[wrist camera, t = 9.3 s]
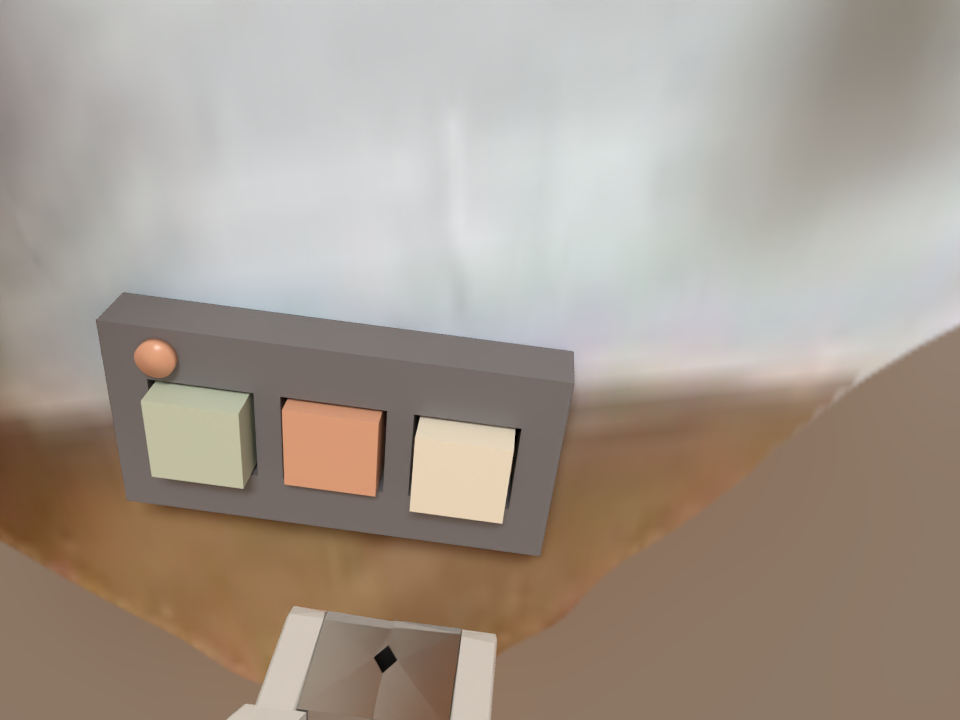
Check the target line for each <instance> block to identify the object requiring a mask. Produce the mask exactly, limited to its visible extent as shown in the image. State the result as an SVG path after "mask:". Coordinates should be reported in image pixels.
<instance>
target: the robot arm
mask: <svg viewBox="0 0 960 720" xmlns="http://www.w3.org/2000/svg"><path fill="white" fill-rule="evenodd" d="M460 636H461V637H460ZM496 648H497V638H496V634H491V633H484V632H476V631H469V630H462V632H461V629H460V628H452V627H443V626H435V625H427V624H419V623H411V622H402V621H395V622H392V621H386V620H380V619H374V618H368V617H361V616H355V615H349V614H343V613H337V612H331V611H324V610H317V609H310V608H303V607H297V606H294V607H293V608H292V610H291V611H290V613H289V614H288V616H287V618H286V621H285V624H284V627H283V629H282V632H281V635H280V638H279V641H278V643H277V646H276V649H275V652H274V654H273V657H272V660H271V663H270V665H269V668H268V671H267V674H266V677H265V679H264V682H263V685H262V688H261V691H260V693H259V696H258V699H257V702H256V704H255V705H254V704H244V705H243V706H242V707H241V708H240V709H238V710H237V711H236V712H234V713H233V714H232V715H231V716H230V717H228V718H227V719H226V720H491V709H492V697H493V685H494V673H495V672H494V671H495V660H496ZM457 660H458V661H457ZM456 668H457V669H456Z"/></svg>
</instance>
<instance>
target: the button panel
mask: <svg viewBox="0 0 960 720" xmlns="http://www.w3.org/2000/svg"><path fill="white" fill-rule="evenodd" d="M96 323H97V329H98V335H99V341H100V347H101V352H102V358H103V364H104V370H105V376H106V382H107V387H108V393H109V399H110V405H111V411H112V416H113V422H114V428H115V434H116V440H117V446H118V451H119V457H120V463H121V469H122V475H123V480H124V486H125V492H126V498H127V500H128V501H135V502H143V503H150V504H157V505H165V506H172V507H180V508H187V509H194V510H202V511H209V512H217V513H224V514H231V515H239V516H246V517H254V518H261V519H268V520H276V521H283V522H290V523H298V524H305V525H313V526H320V527H327V528H335V529H342V530H350V531H357V532H364V533H372V534H379V535H387V536H394V537H401V538H409V539H416V540H423V541H431V542H438V543H446V544H453V545H460V546H468V547H475V548H483V549H490V550H497V551H505V552H512V553H520V554H527V555H534V556H540V554H541V549H542V544H543V539H544V534H545V529H546V524H547V519H548V514H549V509H550V504H551V498H552V493H553V488H554V483H555V478H556V473H557V468H558V463H559V458H560V453H561V448H562V443H563V438H564V433H565V428H566V423H567V418H568V413H569V407H570V402H571V397H572V392H573V387H574V352H572V351H565V350H557V349H549V348H542V347H534V346H527V345H519V344H511V343H504V342H496V341H488V340H481V339H473V338H466V337H458V336H450V335H443V334H435V333H427V332H420V331H412V330H405V329H397V328H389V327H382V326H374V325H366V324H359V323H351V322H344V321H336V320H328V319H321V318H313V317H305V316H298V315H290V314H283V313H275V312H267V311H260V310H252V309H244V308H237V307H229V306H221V305H214V304H206V303H199V302H191V301H183V300H176V299H168V298H160V297H153V296H145V295H138V294H130V293H122V294H121V295H120V296H119V297H118V298H117V299H116V300H115V301H114V302H113V303H112V304H111V305H110V306H109V307H108V308H107V309H106V310H105V311H104V312H103V314H102V315H101V316H100V317H99V318H98V319H97V320H96ZM156 380H158V381H165V382H173V383H180V384H188V385H195V386H203V387H211V388H218V389H226V390H233V391H241V392H248V393H253V396H254V413H255V431H256V449H257V463H256V465H255V467H254V469H253V471H252V473H251V475H250V477H249V479H248V481H247V483H246V485H245V487H244V489H240V488H233V487H225V486H218V485H211V484H203V483H196V482H188V481H181V480H173V479H166V478H159V477H152V475H151V468H150V461H149V454H148V447H147V441H146V434H145V427H144V420H143V413H142V407H141V400H142V399H143V397H144V396H145V395H146V393H147V392H148V391H149V389H150V388H151V387H152V385H153V384H154V383H155V382H156ZM288 398H293V399H301V400H308V401H316V402H324V403H331V404H339V405H346V406H354V407H361V408H369V409H376V410H384V411H387V424H386V444H385V464H384V468H383V472H382V475H381V479H380V482H379V486H378V489H377V493H376V496H375V497H374V496H367V495H359V494H352V493H344V492H337V491H329V490H322V489H315V488H307V487H300V486H292V485H285V484H284V457H283V427H282V409H283V407H284V405H285V403H286V401H287V399H288ZM420 415H421V416H429V417H436V418H444V419H452V420H459V421H467V422H474V423H482V424H489V425H497V426H504V427H512V428H519V430H518V436H517V443H516V449H515V455H514V461H513V468H512V474H510V478H509V484H508V491H507V497H506V503H505V509H504V516H503V522H502V524H500V523H492V522H485V521H478V520H470V519H463V518H455V517H448V516H441V515H433V514H426V513H418V512H411V511H410V498H411V485H412V472H413V458H414V445H415V436H416V432H417V428H418V424H419V419H420Z"/></svg>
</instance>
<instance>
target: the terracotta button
mask: <svg viewBox="0 0 960 720" xmlns="http://www.w3.org/2000/svg"><path fill="white" fill-rule="evenodd" d="M386 424H387V411H384V410H376V409H369V408H361V407H354V406H346V405H339V404H331V403H324V402H316V401H308V400H301V399H293V398H288V399H287V401H286V403H285V405H284V407H283V409H282V427H283V457H284V484H285V485H292V486H300V487H307V488H315V489H322V490H329V491H337V492H344V493H352V494H359V495H367V496H374V497H375V496H376V493H377V489H378V486H379V482H380V479H381V475H382V472H383V468H384V464H385V444H386Z"/></svg>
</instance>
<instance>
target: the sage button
mask: <svg viewBox="0 0 960 720" xmlns="http://www.w3.org/2000/svg"><path fill="white" fill-rule="evenodd" d="M141 407H142V413H143V420H144V427H145V434H146V441H147V447H148V454H149V461H150V468H151V475H152V477H159V478H166V479H173V480H181V481H188V482H196V483H203V484H211V485H218V486H225V487H233V488H240V489H244V487H245V485H246V483H247V481H248V479H249V477H250V475H251V473H252V471H253V469H254V467H255V465H256V463H257V449H256V431H255V413H254V396H253V393H248V392H241V391H233V390H226V389H218V388H211V387H203V386H195V385H188V384H180V383H173V382H165V381H158V380H156V382H155V383H154V384H153V385H152V387H151V388H150V389H149V391H148V392H147V393H146V395H145V396H144V397H143V399H142V400H141Z"/></svg>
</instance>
